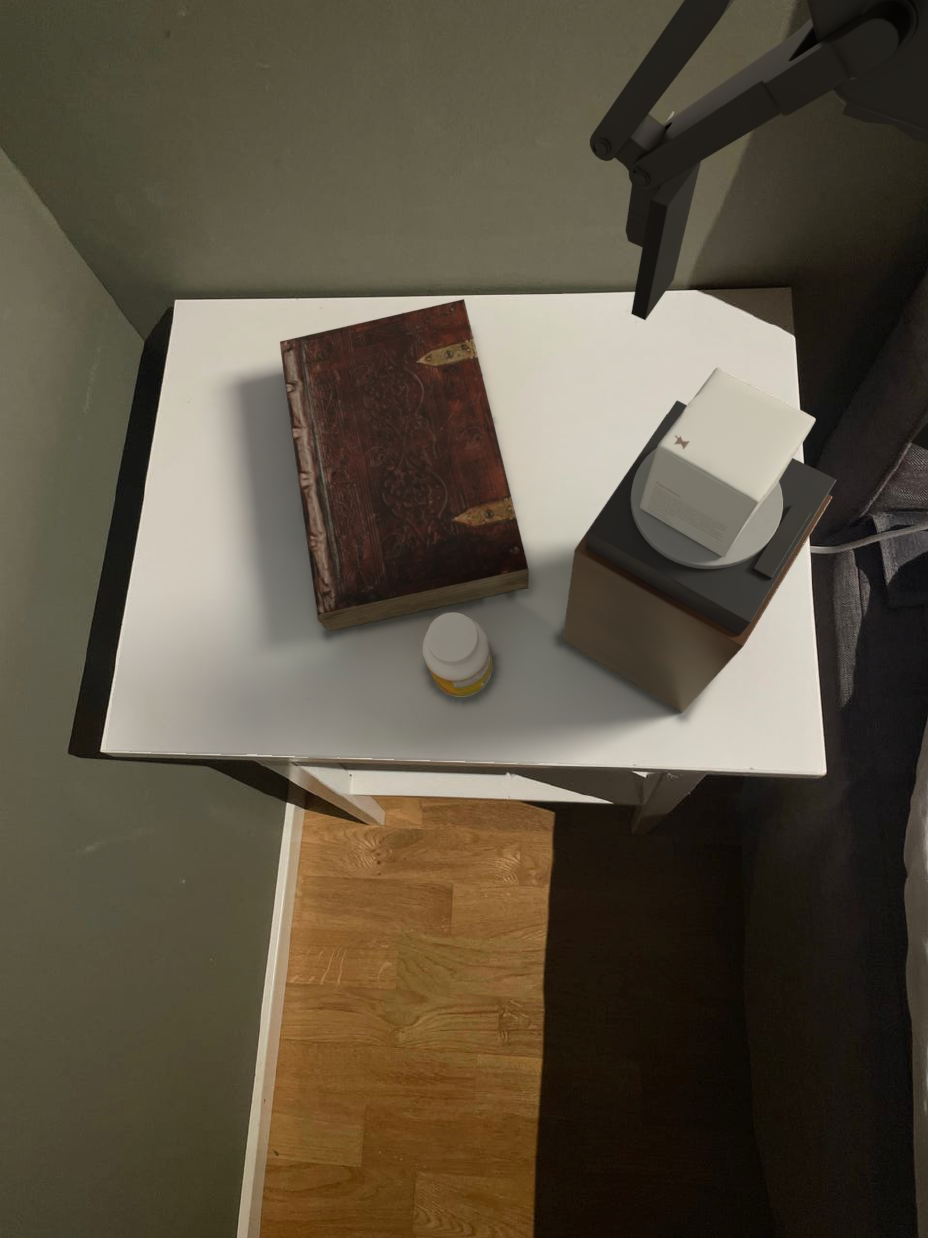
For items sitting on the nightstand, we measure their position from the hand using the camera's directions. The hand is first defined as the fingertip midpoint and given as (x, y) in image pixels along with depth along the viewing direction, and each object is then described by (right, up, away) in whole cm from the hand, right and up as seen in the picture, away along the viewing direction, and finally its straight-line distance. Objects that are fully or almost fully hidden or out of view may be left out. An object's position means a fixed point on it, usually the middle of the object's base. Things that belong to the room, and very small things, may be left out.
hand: (785, 357), depth 35 cm
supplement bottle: (-15, -16, +34) cm, 40 cm away
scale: (+1, -6, +15) cm, 16 cm away
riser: (+2, -12, +34) cm, 36 cm away
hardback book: (-21, +2, +41) cm, 46 cm away
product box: (0, -5, +12) cm, 13 cm away
